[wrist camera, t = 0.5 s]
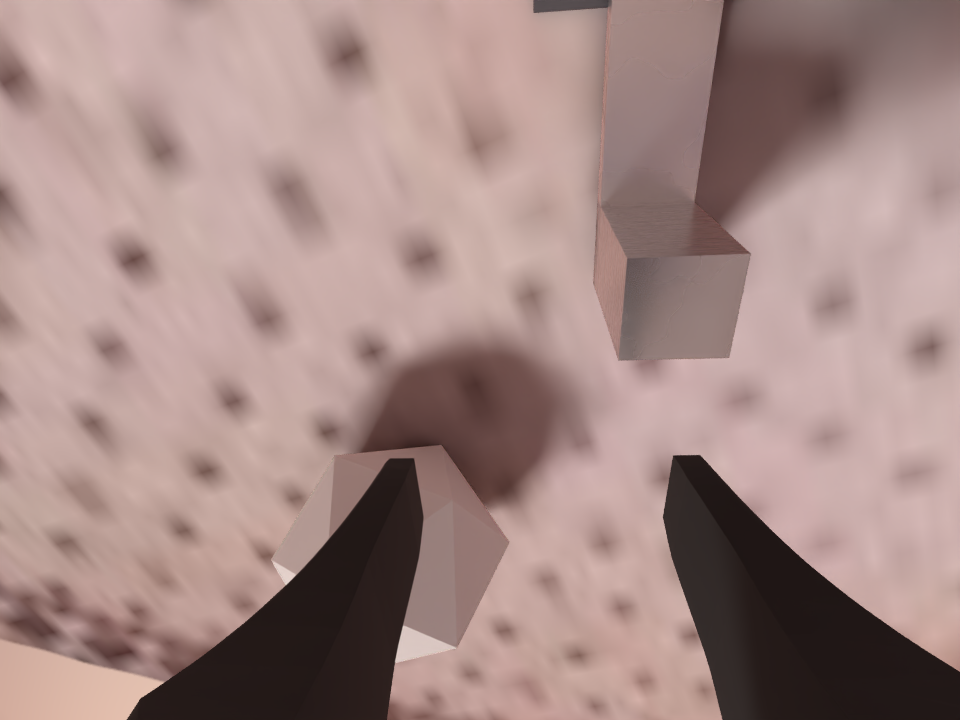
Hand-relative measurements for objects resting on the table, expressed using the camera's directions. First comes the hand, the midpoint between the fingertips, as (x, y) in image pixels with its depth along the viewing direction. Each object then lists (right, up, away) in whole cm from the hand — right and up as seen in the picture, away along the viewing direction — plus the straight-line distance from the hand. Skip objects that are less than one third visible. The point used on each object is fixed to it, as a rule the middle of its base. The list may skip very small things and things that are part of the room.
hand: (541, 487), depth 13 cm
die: (-5, -3, +13) cm, 14 cm away
